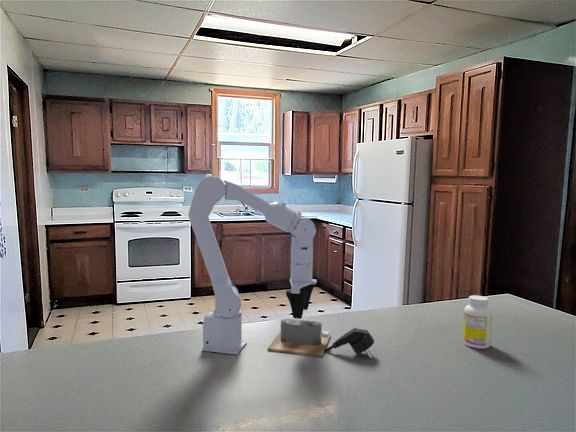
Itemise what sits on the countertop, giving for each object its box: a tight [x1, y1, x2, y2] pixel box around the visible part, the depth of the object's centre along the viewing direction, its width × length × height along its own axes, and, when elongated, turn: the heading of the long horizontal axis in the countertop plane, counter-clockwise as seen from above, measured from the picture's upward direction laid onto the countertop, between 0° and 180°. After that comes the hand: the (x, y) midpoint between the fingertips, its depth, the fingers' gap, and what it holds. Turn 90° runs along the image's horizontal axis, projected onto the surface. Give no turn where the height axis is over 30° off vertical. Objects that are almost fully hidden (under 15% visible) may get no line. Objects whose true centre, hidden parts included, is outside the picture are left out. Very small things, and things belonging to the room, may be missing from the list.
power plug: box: [324, 327, 375, 359], centre depth 103 cm, size 6×8×12 cm
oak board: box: [267, 330, 331, 358], centre depth 109 cm, size 14×14×1 cm
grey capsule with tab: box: [280, 318, 330, 345], centre depth 109 cm, size 13×4×5 cm, turn 76°
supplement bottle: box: [462, 294, 493, 350], centre depth 109 cm, size 7×7×13 cm
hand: (300, 313), depth 109 cm, fingers open, 7 cm apart
